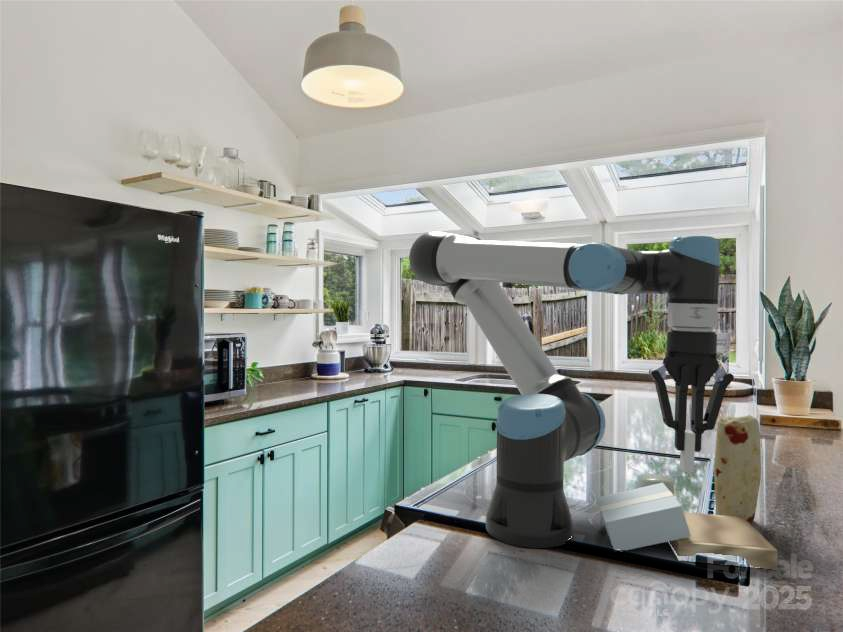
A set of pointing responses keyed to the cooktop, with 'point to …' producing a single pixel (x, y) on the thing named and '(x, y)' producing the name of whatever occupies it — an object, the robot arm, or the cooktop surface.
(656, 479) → the pale green rounded knob
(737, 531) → the tan square plate
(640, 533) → the flat box
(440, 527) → the cooktop surface
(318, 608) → the cooktop surface
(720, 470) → the food model
